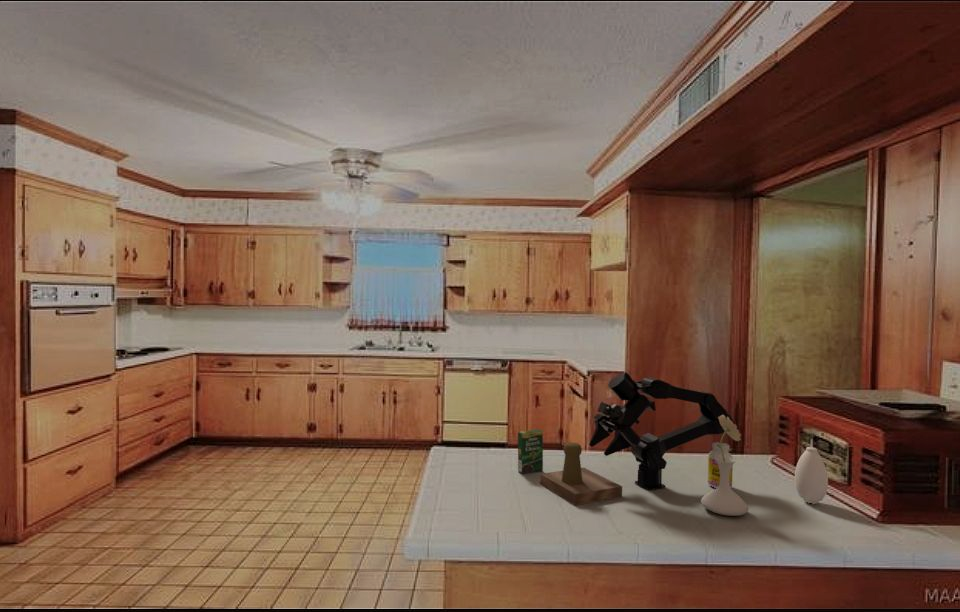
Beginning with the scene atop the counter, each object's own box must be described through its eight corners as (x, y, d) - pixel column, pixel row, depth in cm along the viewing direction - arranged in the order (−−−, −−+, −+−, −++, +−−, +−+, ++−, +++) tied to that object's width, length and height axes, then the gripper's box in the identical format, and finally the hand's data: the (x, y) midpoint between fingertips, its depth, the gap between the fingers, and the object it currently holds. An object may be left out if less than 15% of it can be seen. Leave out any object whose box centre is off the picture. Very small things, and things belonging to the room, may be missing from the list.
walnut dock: (583, 476, 162) (583, 467, 162) (622, 496, 146) (622, 486, 146) (540, 483, 155) (540, 473, 155) (575, 505, 139) (575, 494, 139)
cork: (586, 483, 147) (587, 445, 147) (567, 485, 146) (567, 446, 146) (576, 476, 153) (577, 439, 153) (557, 478, 151) (558, 441, 151)
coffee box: (521, 474, 164) (521, 433, 164) (516, 471, 166) (517, 431, 166) (543, 471, 167) (543, 431, 167) (538, 468, 170) (539, 429, 169)
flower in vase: (752, 522, 130) (754, 423, 129) (703, 516, 133) (705, 419, 133) (742, 503, 142) (744, 413, 142) (697, 498, 145) (699, 410, 145)
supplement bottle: (708, 488, 153) (708, 445, 153) (707, 481, 160) (708, 440, 159) (733, 492, 151) (733, 448, 151) (731, 485, 157) (732, 442, 157)
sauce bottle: (825, 501, 145) (826, 437, 145) (829, 510, 138) (830, 443, 138) (793, 495, 149) (794, 433, 149) (795, 504, 142) (796, 439, 142)
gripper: (599, 387, 161) (566, 424, 159) (631, 398, 143) (594, 440, 141) (622, 411, 163) (589, 448, 161) (656, 425, 145) (620, 467, 143)
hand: (597, 450), depth 151 cm, fingers open, 9 cm apart
